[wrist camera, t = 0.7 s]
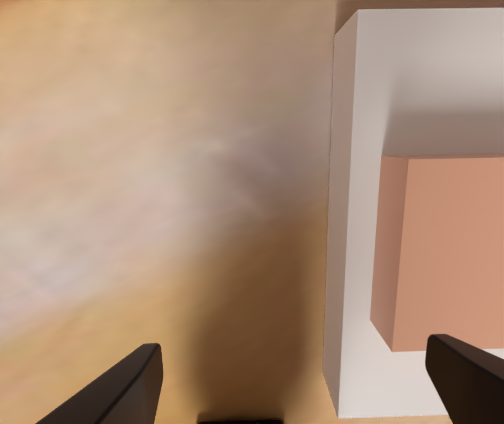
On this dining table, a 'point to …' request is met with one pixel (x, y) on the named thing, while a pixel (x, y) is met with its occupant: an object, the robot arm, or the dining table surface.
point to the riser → (368, 174)
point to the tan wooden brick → (439, 250)
